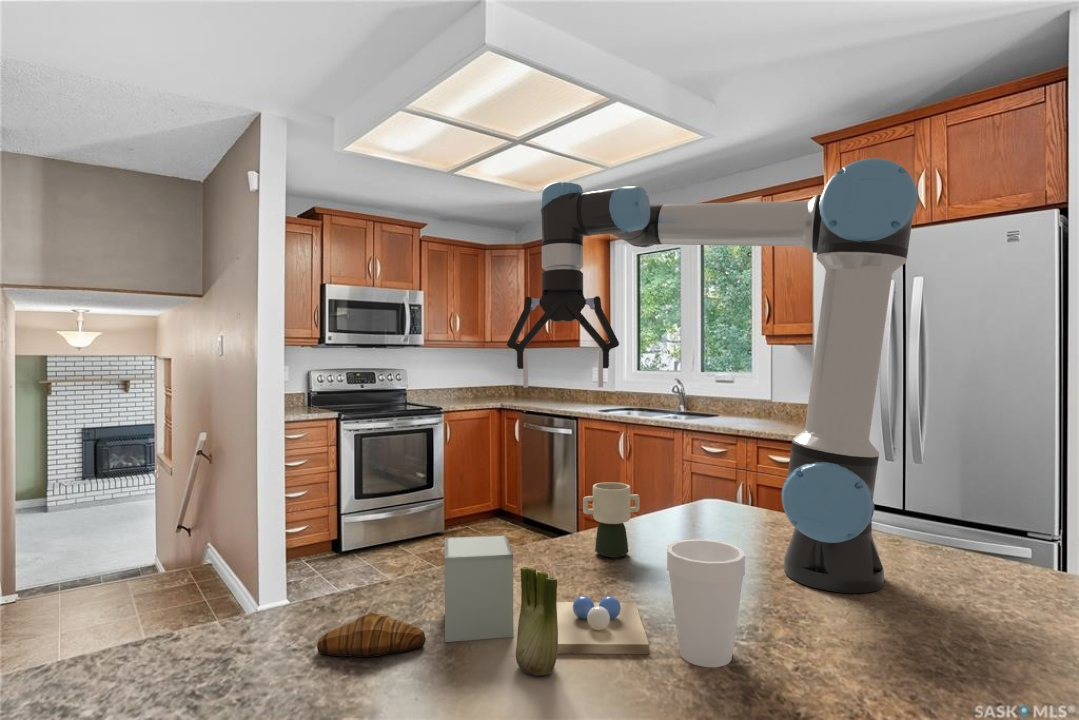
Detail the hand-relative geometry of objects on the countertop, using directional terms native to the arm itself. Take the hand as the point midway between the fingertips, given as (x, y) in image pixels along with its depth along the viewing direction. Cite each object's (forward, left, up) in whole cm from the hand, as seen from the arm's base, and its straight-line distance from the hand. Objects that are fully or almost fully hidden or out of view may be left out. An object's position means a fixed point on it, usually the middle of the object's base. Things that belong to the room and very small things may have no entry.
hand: (563, 387), depth 111 cm
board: (-2, +28, -32) cm, 43 cm away
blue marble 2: (-6, +27, -30) cm, 41 cm away
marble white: (-4, +31, -30) cm, 44 cm away
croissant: (+25, +34, -32) cm, 53 cm away
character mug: (-9, -3, -32) cm, 33 cm away
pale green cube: (+12, +27, -32) cm, 43 cm away
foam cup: (-17, +35, -32) cm, 50 cm away
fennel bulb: (+4, +39, -32) cm, 51 cm away
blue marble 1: (-2, +27, -30) cm, 41 cm away
